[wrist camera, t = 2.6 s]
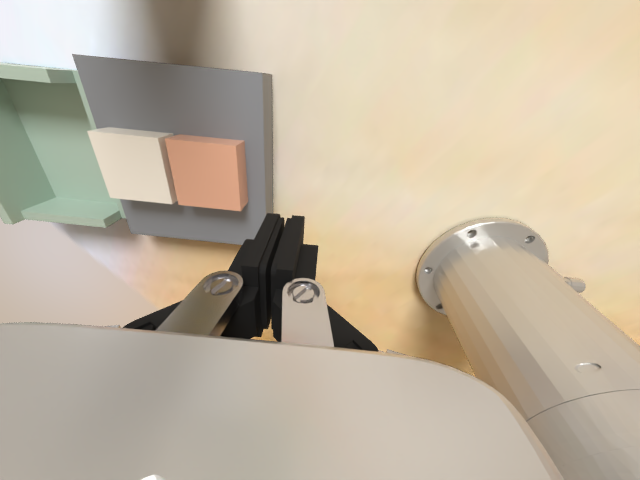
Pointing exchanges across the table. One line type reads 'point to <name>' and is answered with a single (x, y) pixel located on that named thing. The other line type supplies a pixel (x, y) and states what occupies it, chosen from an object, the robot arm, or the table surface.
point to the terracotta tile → (208, 171)
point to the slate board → (188, 119)
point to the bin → (49, 150)
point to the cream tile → (134, 164)
